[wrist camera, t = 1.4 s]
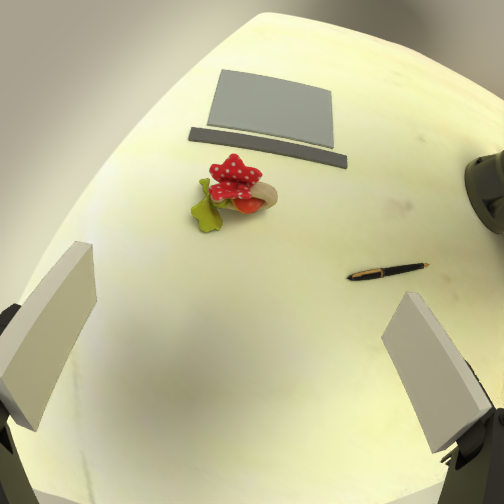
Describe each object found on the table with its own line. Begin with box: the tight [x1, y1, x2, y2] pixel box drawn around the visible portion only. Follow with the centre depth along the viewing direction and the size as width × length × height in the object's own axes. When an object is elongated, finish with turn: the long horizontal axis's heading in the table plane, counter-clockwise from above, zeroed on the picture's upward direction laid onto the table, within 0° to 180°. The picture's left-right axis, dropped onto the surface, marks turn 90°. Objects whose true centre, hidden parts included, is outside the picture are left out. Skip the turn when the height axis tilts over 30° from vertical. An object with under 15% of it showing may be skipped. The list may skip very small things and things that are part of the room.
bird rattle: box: [191, 154, 277, 232], centre depth 32 cm, size 6×11×9 cm
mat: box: [189, 69, 347, 169], centre depth 42 cm, size 22×15×1 cm
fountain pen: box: [347, 263, 430, 281], centre depth 38 cm, size 14×1×2 cm, turn 98°
